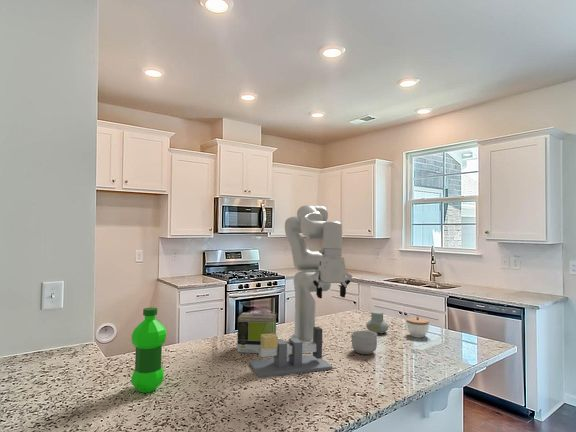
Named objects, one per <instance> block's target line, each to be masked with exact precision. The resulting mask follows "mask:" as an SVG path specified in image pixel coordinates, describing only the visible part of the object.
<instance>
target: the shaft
mask: <svg viewBox="0 0 576 432" xmlns="http://www.w3.org/2000/svg"><path fill="white" fill-rule="evenodd" d="M308 353H312V355H313V356H314V357H315V358H317V359H320V358H322V359H323V328H322V327H320V326H315V327H313V342H302V354H308ZM257 354H258V356H259V357H260V358H265V357H274V356H277V355H278V348H273V349H264V348H263V347H262V346H259V353H257ZM289 354H294V345H293V344H292V343H290V344H289V343H287V356H289Z"/></svg>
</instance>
